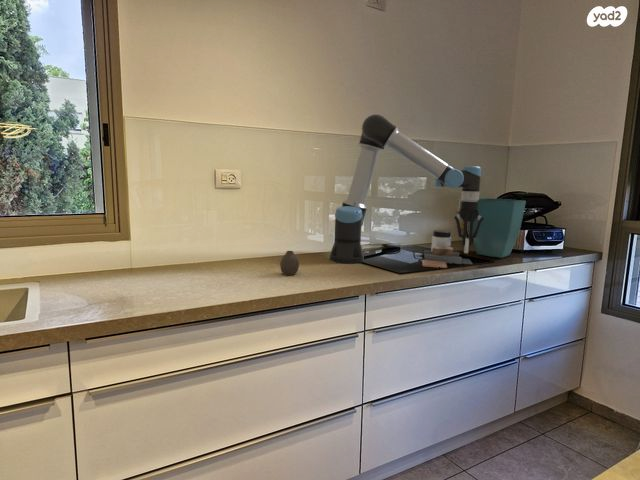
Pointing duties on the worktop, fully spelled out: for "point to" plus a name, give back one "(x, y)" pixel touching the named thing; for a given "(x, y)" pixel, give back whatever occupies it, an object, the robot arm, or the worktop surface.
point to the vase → (289, 264)
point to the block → (442, 251)
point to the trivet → (434, 264)
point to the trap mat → (466, 262)
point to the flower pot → (498, 226)
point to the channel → (443, 257)
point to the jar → (441, 238)
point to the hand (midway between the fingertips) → (466, 252)
